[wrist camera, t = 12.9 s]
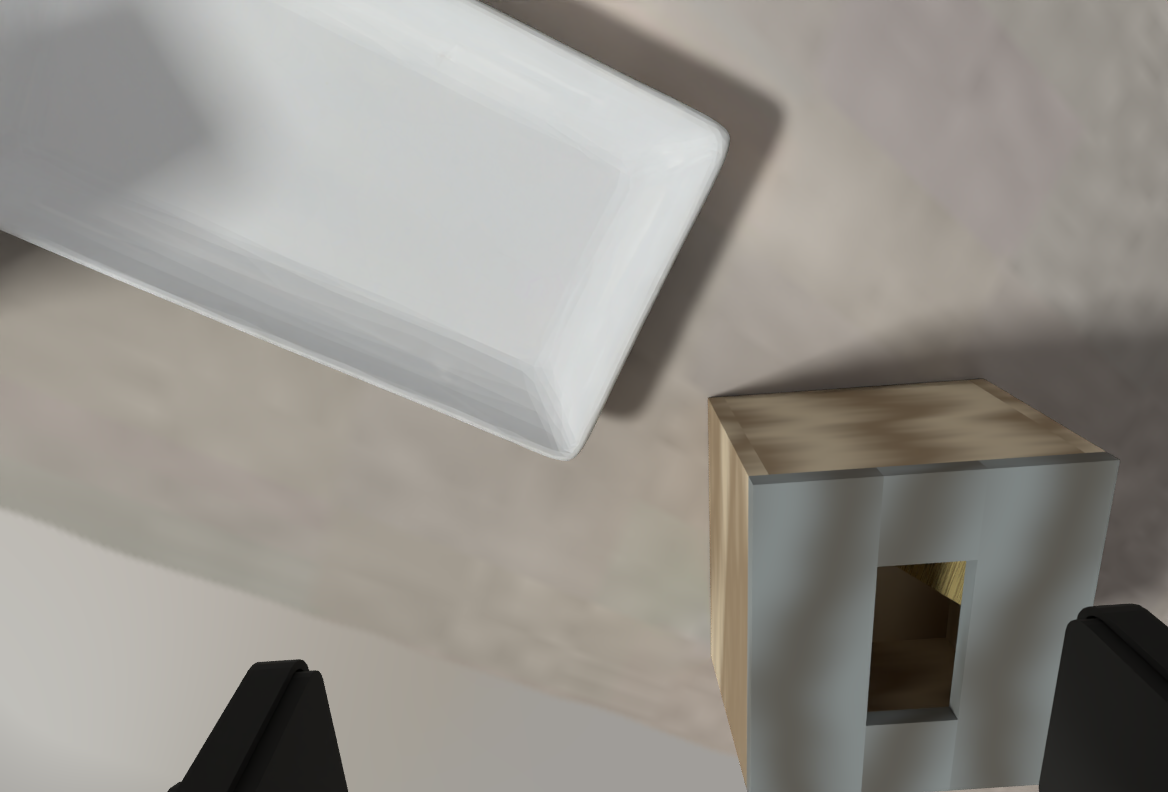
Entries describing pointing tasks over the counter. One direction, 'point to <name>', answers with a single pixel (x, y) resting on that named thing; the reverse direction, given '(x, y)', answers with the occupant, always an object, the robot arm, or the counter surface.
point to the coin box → (896, 582)
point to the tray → (362, 188)
